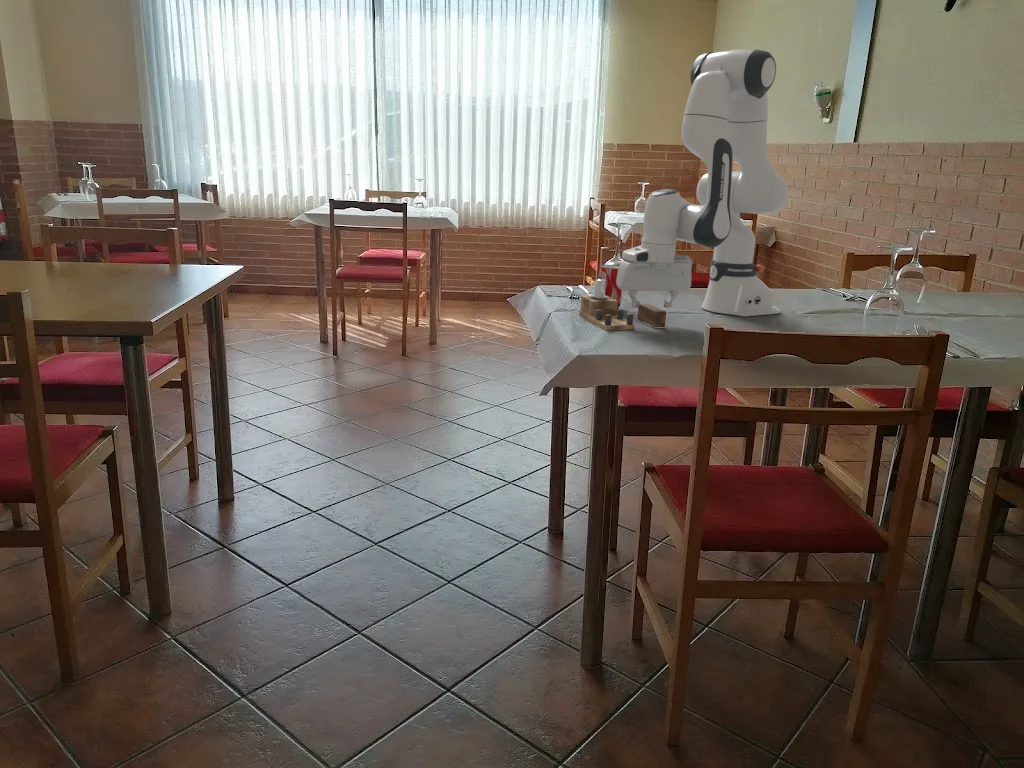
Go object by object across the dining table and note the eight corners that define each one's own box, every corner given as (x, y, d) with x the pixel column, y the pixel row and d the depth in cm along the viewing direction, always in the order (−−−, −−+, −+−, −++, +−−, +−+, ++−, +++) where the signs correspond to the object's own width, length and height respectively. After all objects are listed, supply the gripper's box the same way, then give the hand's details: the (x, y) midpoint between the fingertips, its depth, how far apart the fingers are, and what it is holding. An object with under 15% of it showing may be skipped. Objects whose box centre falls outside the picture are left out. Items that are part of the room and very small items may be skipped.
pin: (601, 311, 211) (603, 278, 208) (605, 313, 208) (607, 280, 206) (591, 312, 210) (593, 279, 207) (595, 314, 208) (597, 281, 205)
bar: (647, 320, 210) (648, 303, 209) (664, 328, 201) (666, 311, 200) (637, 320, 209) (638, 303, 208) (654, 329, 200) (655, 311, 199)
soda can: (619, 311, 218) (623, 269, 215) (594, 309, 220) (597, 267, 216) (621, 306, 225) (624, 265, 222) (596, 304, 226) (600, 263, 223)
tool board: (606, 314, 214) (607, 295, 213) (634, 329, 198) (636, 309, 196) (579, 314, 212) (580, 295, 210) (605, 330, 195) (607, 310, 194)
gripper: (686, 253, 205) (680, 305, 209) (616, 251, 199) (611, 304, 203) (699, 256, 200) (692, 309, 203) (627, 255, 193) (621, 309, 197)
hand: (651, 307), depth 203 cm, fingers open, 8 cm apart
